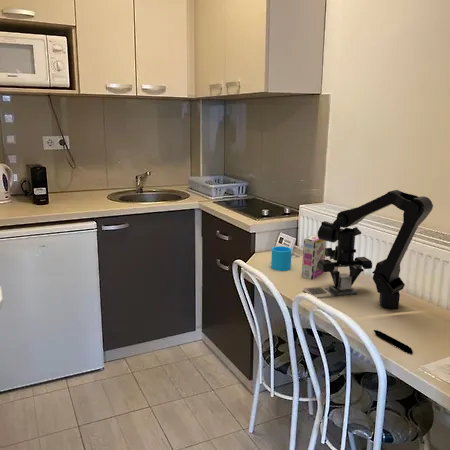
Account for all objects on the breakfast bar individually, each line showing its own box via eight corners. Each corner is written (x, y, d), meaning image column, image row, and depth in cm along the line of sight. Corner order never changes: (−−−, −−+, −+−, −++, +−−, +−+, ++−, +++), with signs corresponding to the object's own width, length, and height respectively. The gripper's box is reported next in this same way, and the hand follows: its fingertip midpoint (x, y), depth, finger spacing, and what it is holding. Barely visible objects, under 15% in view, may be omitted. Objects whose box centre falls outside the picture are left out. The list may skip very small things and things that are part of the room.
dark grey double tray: (358, 297, 164) (358, 291, 163) (310, 301, 160) (311, 296, 159) (347, 288, 171) (347, 283, 171) (301, 293, 167) (302, 287, 167)
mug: (294, 269, 192) (295, 250, 190) (276, 272, 189) (277, 252, 187) (280, 261, 203) (281, 243, 201) (263, 263, 200) (264, 245, 198)
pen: (375, 333, 138) (375, 328, 137) (414, 354, 126) (414, 348, 126) (371, 334, 137) (371, 329, 137) (410, 355, 125) (410, 350, 125)
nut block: (350, 292, 165) (351, 277, 164) (340, 293, 164) (341, 277, 163) (345, 288, 169) (346, 273, 167) (335, 289, 168) (336, 274, 166)
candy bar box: (312, 282, 178) (315, 240, 174) (301, 279, 181) (302, 238, 177) (324, 274, 187) (327, 234, 183) (313, 271, 190) (315, 232, 186)
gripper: (358, 237, 172) (355, 277, 176) (311, 240, 168) (309, 281, 172) (374, 246, 162) (371, 288, 165) (325, 249, 157) (322, 292, 161)
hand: (343, 287), depth 166 cm, fingers open, 5 cm apart
